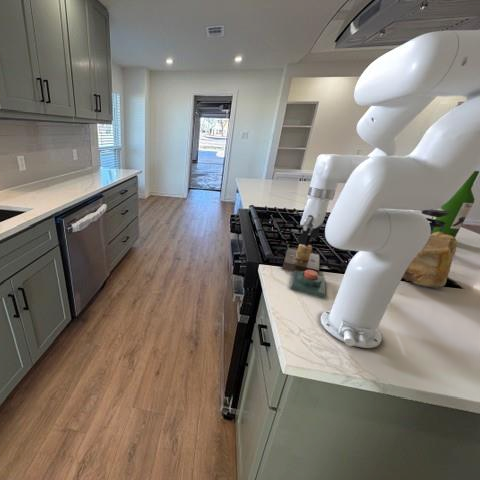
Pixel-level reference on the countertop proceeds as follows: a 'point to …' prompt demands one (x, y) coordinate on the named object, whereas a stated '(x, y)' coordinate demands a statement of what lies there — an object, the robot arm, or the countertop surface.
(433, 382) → the countertop surface
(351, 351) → the countertop surface
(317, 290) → the button box
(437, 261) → the rough brown rock
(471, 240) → the countertop surface
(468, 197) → the wine bottle
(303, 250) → the dial
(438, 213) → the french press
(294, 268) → the dial panel
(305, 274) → the button
